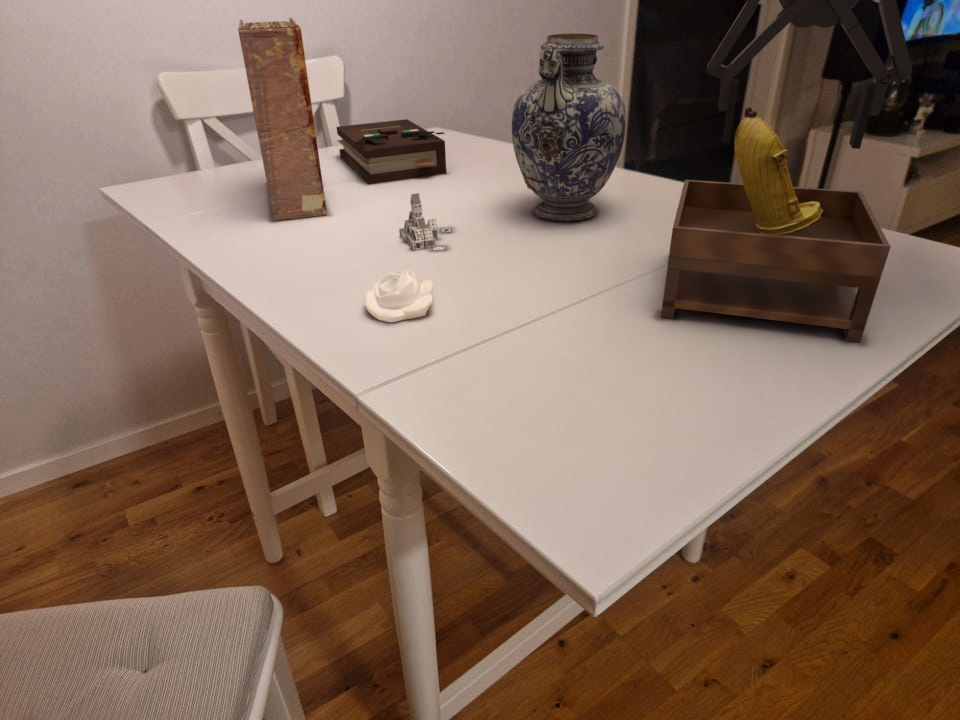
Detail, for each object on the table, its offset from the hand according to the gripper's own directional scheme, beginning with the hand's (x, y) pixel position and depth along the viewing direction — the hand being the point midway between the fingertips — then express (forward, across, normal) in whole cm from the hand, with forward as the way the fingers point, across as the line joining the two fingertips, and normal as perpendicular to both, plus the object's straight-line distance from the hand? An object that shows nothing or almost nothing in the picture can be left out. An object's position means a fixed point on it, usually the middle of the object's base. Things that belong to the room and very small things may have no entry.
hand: (788, 143), depth 75 cm
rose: (+19, +43, +16) cm, 50 cm away
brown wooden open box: (+19, 0, 0) cm, 19 cm away
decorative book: (+19, +75, -48) cm, 91 cm away
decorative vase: (+19, +31, -26) cm, 45 cm away
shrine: (+11, 0, 0) cm, 11 cm away
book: (+19, +82, -21) cm, 87 cm away
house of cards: (+19, +48, -7) cm, 52 cm away
